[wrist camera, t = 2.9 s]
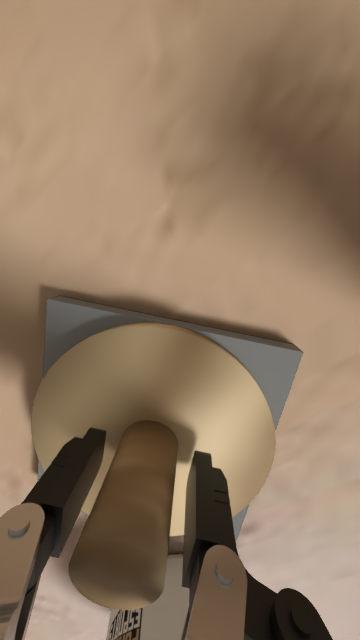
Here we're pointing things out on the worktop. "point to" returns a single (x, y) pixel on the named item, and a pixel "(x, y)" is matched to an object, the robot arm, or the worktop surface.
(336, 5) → the worktop surface
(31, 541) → the robot arm
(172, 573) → the mug
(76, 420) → the lid
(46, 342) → the mat
